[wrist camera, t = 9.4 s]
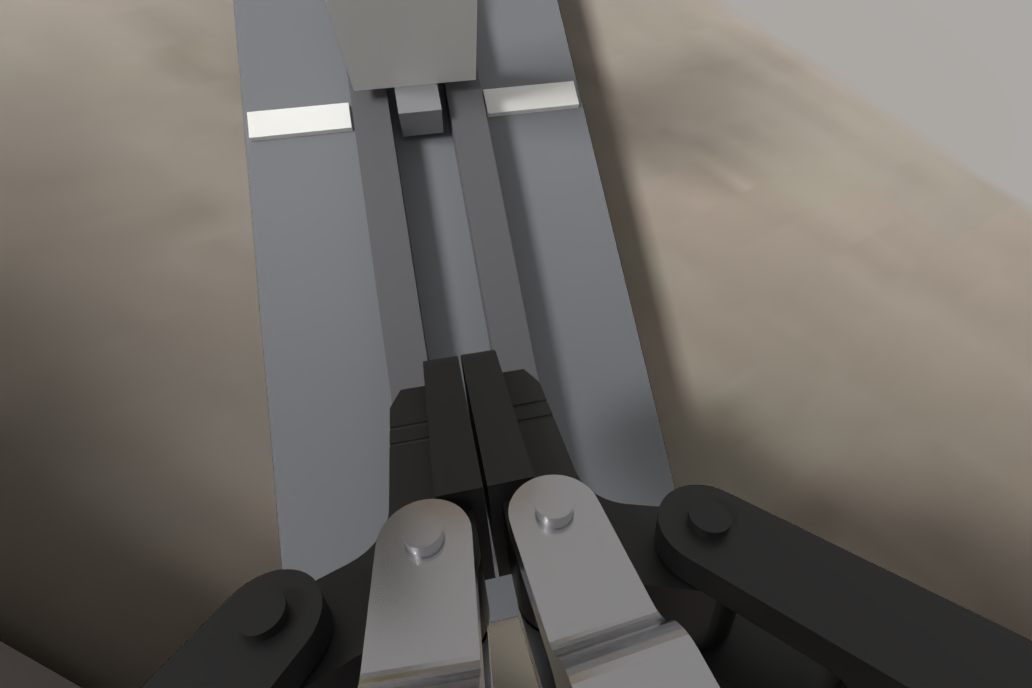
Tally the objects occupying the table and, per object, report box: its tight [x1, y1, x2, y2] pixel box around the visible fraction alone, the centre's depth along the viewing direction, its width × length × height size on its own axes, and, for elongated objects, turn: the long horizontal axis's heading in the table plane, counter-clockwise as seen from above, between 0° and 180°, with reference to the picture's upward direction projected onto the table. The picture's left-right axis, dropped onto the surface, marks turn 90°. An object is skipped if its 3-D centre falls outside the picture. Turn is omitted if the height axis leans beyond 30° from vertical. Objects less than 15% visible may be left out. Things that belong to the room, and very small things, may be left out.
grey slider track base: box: [233, 0, 675, 623], centre depth 17 cm, size 24×12×4 cm, turn 11°
